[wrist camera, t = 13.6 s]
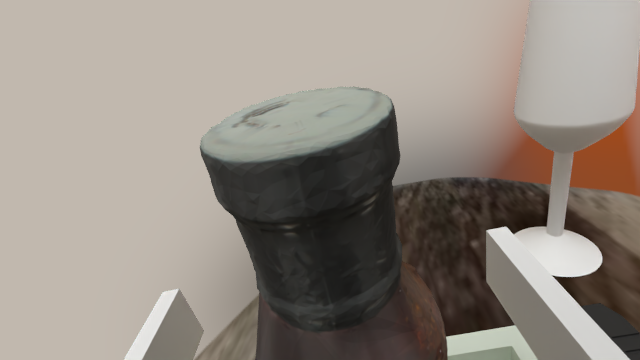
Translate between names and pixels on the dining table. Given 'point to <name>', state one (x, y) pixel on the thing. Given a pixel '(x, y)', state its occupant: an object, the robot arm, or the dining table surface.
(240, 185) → the sauce bottle
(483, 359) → the tray
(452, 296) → the dining table surface
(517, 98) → the champagne flute
